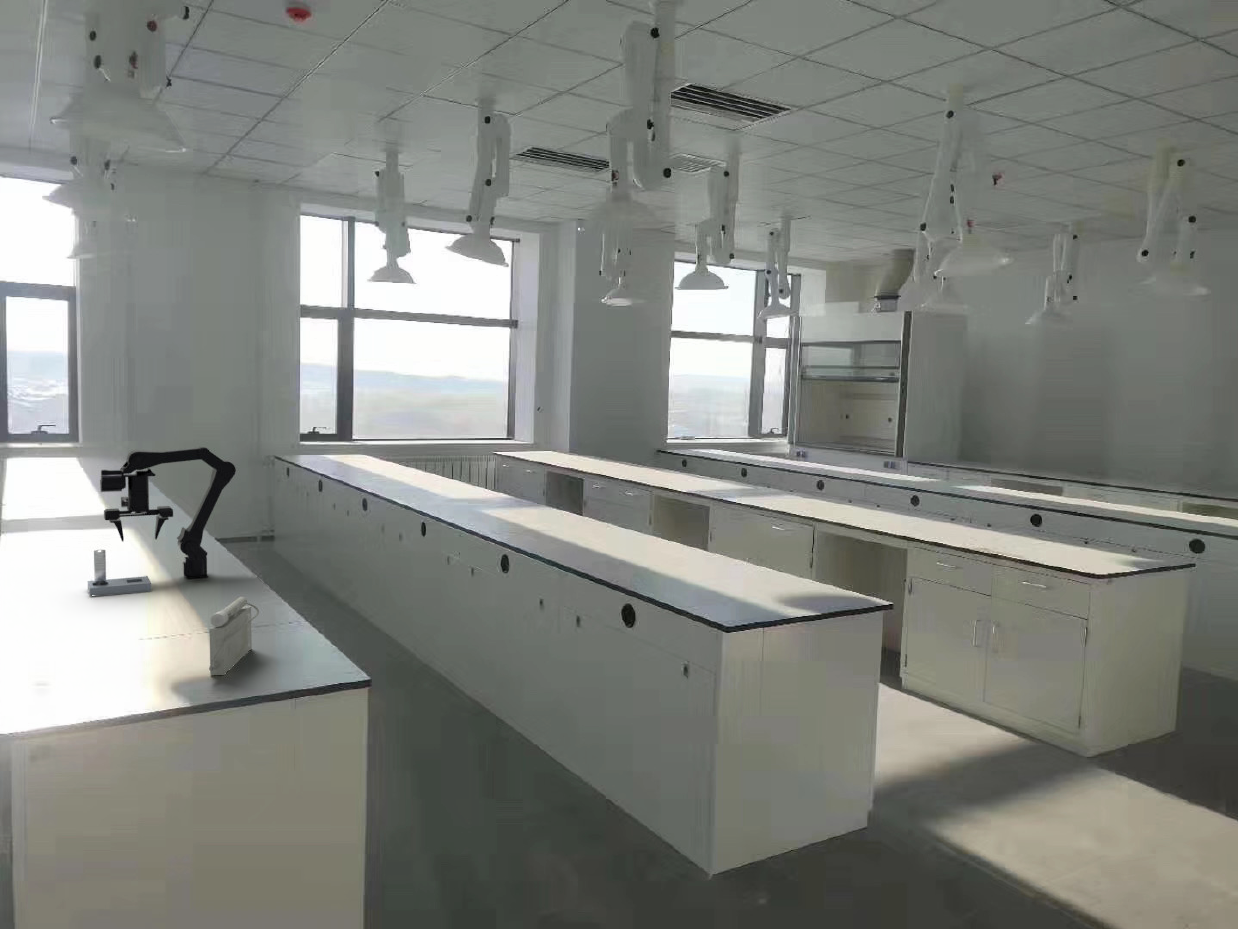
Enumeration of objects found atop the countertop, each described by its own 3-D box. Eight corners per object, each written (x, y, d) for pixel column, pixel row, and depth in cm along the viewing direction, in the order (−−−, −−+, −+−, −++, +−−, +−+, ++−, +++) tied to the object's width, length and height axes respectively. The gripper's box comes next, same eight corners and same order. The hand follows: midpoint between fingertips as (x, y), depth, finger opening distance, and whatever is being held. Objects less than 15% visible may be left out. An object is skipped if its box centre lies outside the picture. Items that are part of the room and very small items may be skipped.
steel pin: (107, 590, 272) (106, 549, 271) (105, 592, 269) (104, 551, 268) (96, 591, 271) (94, 549, 270) (93, 593, 268) (92, 551, 267)
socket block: (147, 584, 281) (147, 576, 281) (151, 591, 273) (151, 582, 273) (87, 589, 273) (87, 581, 272) (90, 596, 264) (89, 588, 264)
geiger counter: (234, 593, 220) (194, 621, 195) (261, 593, 220) (225, 621, 196) (234, 649, 221) (196, 684, 197) (261, 649, 222) (226, 684, 197)
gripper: (168, 486, 294) (168, 534, 295) (101, 488, 283) (103, 538, 285) (173, 490, 284) (173, 539, 286) (104, 493, 274) (105, 544, 276)
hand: (139, 540), depth 283 cm, fingers open, 9 cm apart
